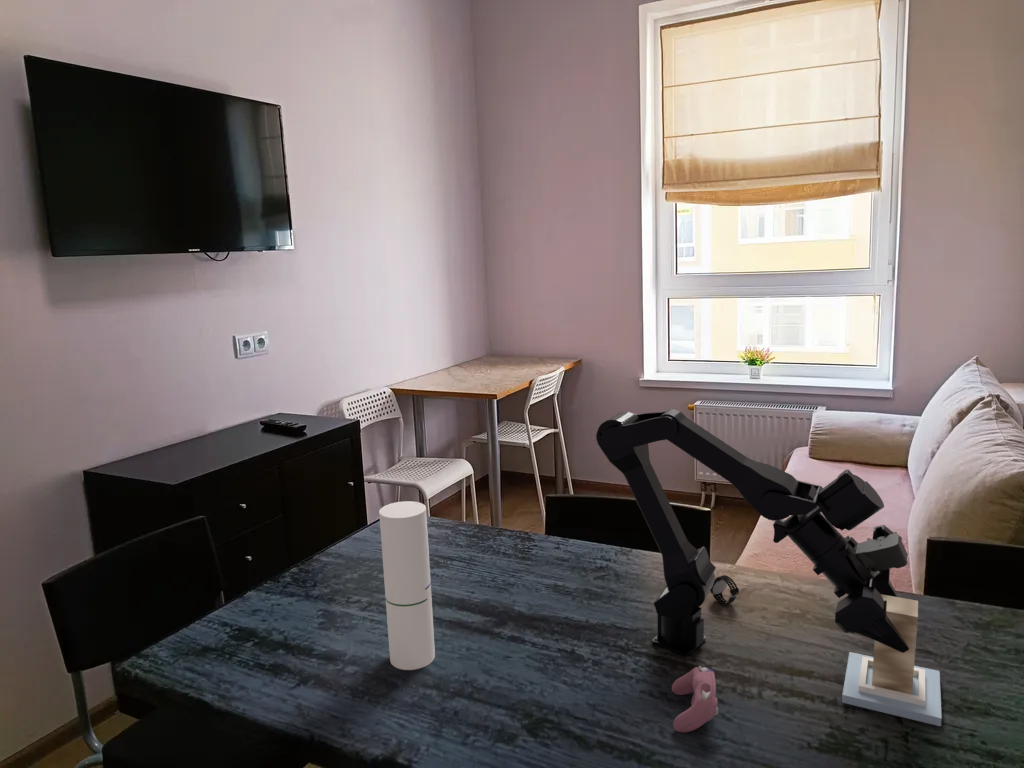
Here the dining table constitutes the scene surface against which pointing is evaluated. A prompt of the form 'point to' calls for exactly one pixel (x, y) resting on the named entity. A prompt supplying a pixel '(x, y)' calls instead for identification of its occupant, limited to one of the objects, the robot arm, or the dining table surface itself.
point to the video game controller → (696, 698)
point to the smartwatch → (720, 586)
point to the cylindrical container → (407, 584)
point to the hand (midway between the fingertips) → (906, 634)
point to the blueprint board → (893, 692)
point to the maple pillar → (890, 663)
